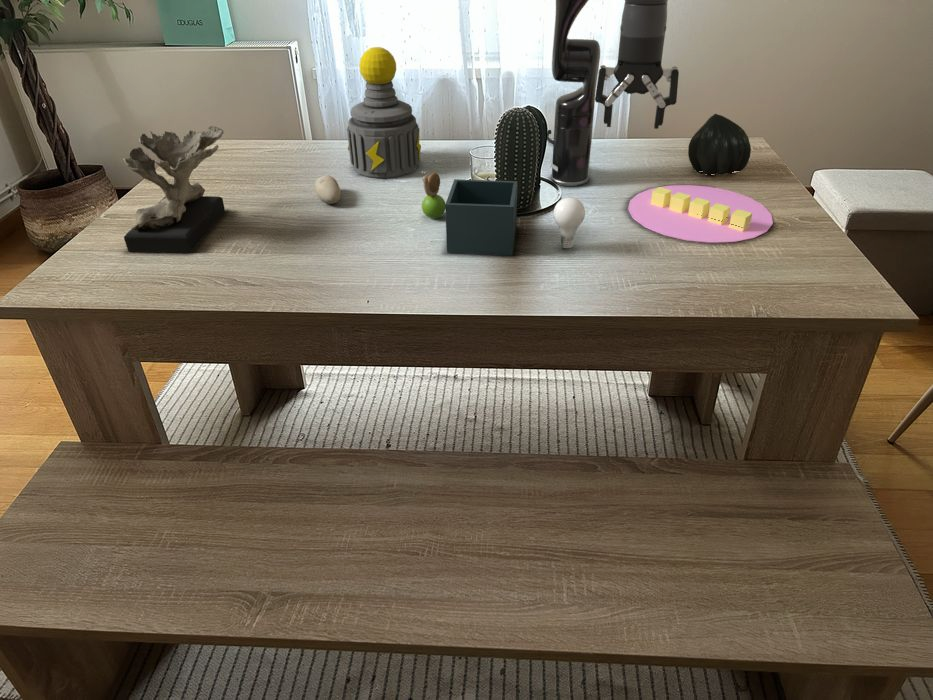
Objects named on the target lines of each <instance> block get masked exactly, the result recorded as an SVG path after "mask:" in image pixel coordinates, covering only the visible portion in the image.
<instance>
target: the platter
mask: <svg viewBox="0 0 933 700" xmlns="http://www.w3.org/2000/svg"><path fill="white" fill-rule="evenodd" d="M627 211H628V212H629V214H630V216H631V218H632V219H633V220H634V221H636V222H637V223H638V224H640V225H641V226H642V227H644V228H645V229H648V230H650V231H653V232H654V233H657V234H659V235H662V236H665V237H669V238H674V239H678V240H682V241H688V242H696V243H697V242H698V243H706V244H722V243H723V244H726V243H738V242H743V241H747V240H753V239H755V238H757V237H760V236H761V235H764V234H765V233H767V232H768V231H769V230H770V228H771V227H772V226H773V224H774V220H773V214H772V212H770V210H768V208H766V206H765V205H764V204H762V203H760V202H758V201H756V200H755V199H753V198H751V197H750V196H747V195H745V194H741V193H738V192H735V191H732V190H728V189H723V188H717V187H713V186H705V185H695V184H677V185H675V184H673V185H665V186H659V187H652V188H649V189H647V190H644V191H641V192H639V193H637V194H635V196H633V197H632V198H631V199H629V204H628V208H627ZM707 211H708V212H707ZM706 212H707V213H706ZM697 214H698V215H697ZM703 214H704V215H703ZM701 215H702V216H701ZM708 217H709V218H708ZM726 217H728V218H726ZM711 218H713V219H711ZM725 218H726V219H725ZM714 219H716V220H714ZM724 219H725V220H724ZM718 220H720V221H718ZM722 220H723V221H722ZM721 221H722V222H721ZM729 223H730V224H729ZM749 223H750V224H749ZM731 224H734V225H731ZM747 224H749V225H747ZM735 225H737V226H735ZM746 225H747V226H746ZM738 226H740V227H738ZM745 226H746V227H745ZM741 227H744V228H741Z"/></svg>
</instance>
